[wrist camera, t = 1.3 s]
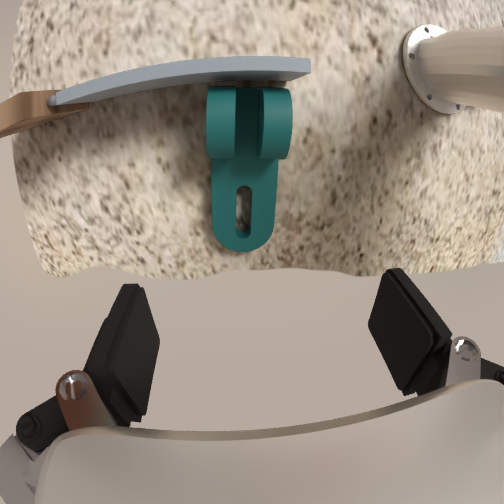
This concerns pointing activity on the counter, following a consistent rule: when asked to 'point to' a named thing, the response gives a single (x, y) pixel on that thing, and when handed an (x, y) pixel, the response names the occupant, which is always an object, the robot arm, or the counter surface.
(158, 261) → the counter surface
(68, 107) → the brown wooden block
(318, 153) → the counter surface
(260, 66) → the door
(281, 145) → the bracket
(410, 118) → the counter surface
